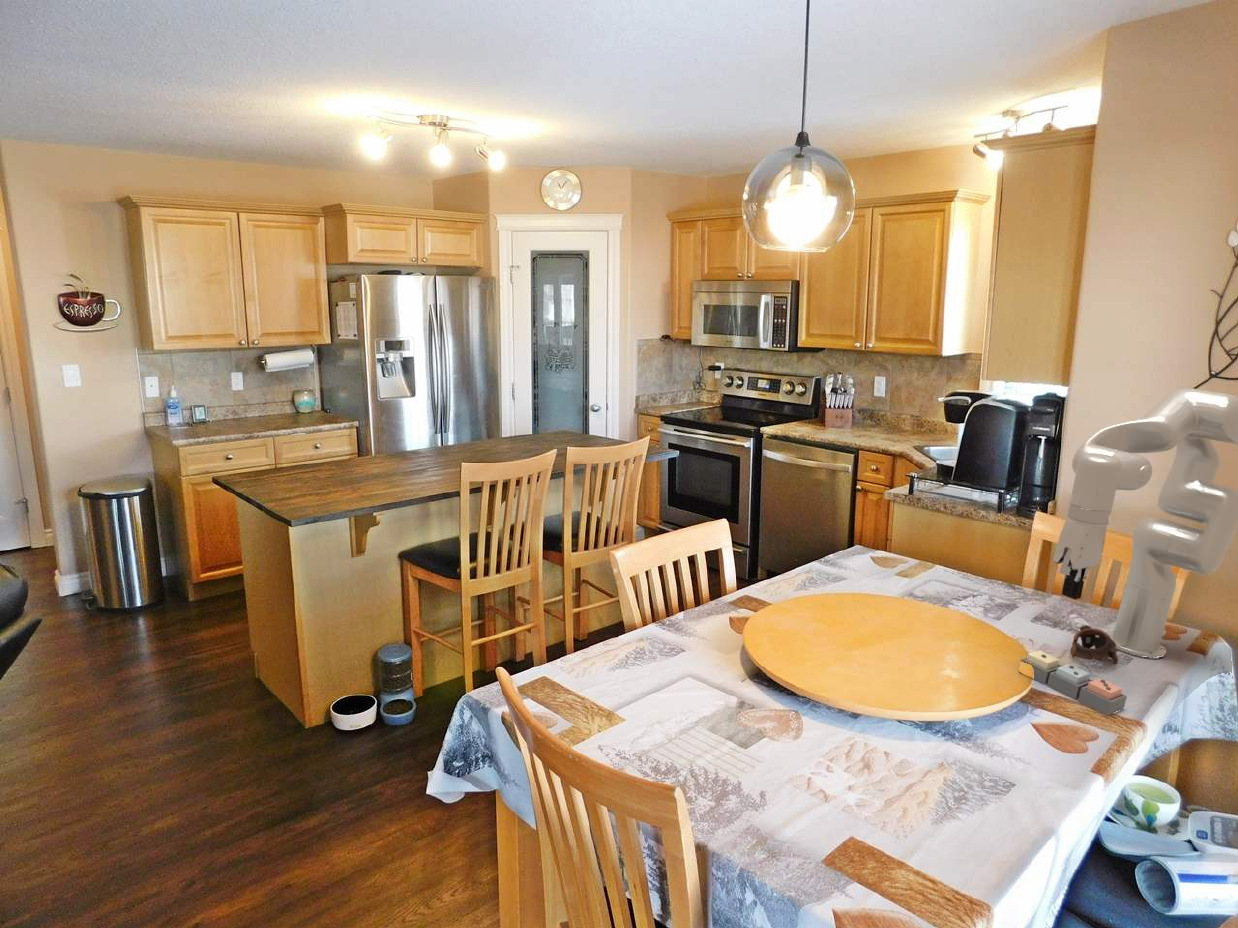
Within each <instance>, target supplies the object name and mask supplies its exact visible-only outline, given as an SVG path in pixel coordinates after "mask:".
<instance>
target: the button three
mask: <svg viewBox="0 0 1238 928" xmlns="http://www.w3.org/2000/svg"><path fill="white" fill-rule="evenodd" d="M1093 680H1094V679H1093ZM1087 690H1089V691H1091V692H1093V693H1095V694H1097V695H1099V696H1101V697H1104V698H1106V699H1108V700H1113V699H1115V698H1118V697H1120V696H1121V694H1122V693H1123V687H1120V686H1118V685H1116V684H1113V683H1111V682H1109V681H1107V680H1105V679H1103V678H1097V679H1095V680H1094V681H1091V682H1089V683H1088V687H1087Z"/></svg>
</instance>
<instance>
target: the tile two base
mask: <svg viewBox="0 0 1238 928" xmlns="http://www.w3.org/2000/svg"><path fill="white" fill-rule="evenodd" d="M1056 672H1057V671H1055V672H1052V673H1050V675H1049V680H1048V684H1046V686H1047V687H1048V688H1050V689H1052V690H1054V691H1056V692H1057V693H1058V692H1059V693H1060V694H1062V695H1064V696H1066V697H1068V698H1070V699H1072V700H1074V701H1076V700H1078V698H1079V694H1080V690H1081V688H1082V687H1085V686H1087V685H1088V683H1089V682H1091V681H1094V679H1091V678H1089V679H1088V681H1087V682H1084V683H1082V684H1079V685H1076V684H1074V683H1072V682H1070V681H1068V680H1066V679H1064V678H1062V677H1060V676H1058V675H1056Z"/></svg>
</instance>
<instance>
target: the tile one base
mask: <svg viewBox="0 0 1238 928" xmlns="http://www.w3.org/2000/svg"><path fill="white" fill-rule="evenodd" d="M1027 657H1028V656H1026V657H1023V658H1020V661H1022V662H1024V663H1027V664H1030V665H1032V667H1033V669H1034V679H1033V680H1034V681H1036V682H1038V683H1040V684H1042V685H1044V686H1045V685H1046V686H1047V684H1048V680H1049V675H1050V673H1052V672H1055V671H1057V668H1059V667H1062V666H1063V665H1061V664H1059V663H1058V667H1055V668H1052V669H1049V670H1045V669H1043V668H1041V667H1039V666H1037V665H1035V664H1032V663H1030V662H1028V661H1026V660H1027Z"/></svg>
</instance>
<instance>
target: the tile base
mask: <svg viewBox="0 0 1238 928" xmlns="http://www.w3.org/2000/svg"><path fill="white" fill-rule="evenodd" d="M1087 687H1088V685H1087V686H1085V687H1082V688H1081V690H1080V694H1079V698H1078V699H1077V702H1079V703H1080V704H1083V705H1084V706H1087V707H1089V708H1091V709H1092V710H1094V711H1096V712H1099V713H1100V714H1103V715H1105V714H1106V715H1105V716H1107V715H1109V716H1111V715H1110V714H1112V713H1114V712H1116V711H1119V710H1121V709H1123V708H1124V709H1125V705H1126V701H1127V697H1128V696H1127V695H1126V694H1124V693H1121V696H1120V697H1118V698H1115V699H1113V700H1108V699H1106V698H1104V697H1101V696H1099V695H1097V694H1095V693H1093V692H1091V691H1089V690H1087ZM1124 709H1123V710H1124ZM1121 711H1122V710H1121ZM1119 712H1120V711H1119ZM1116 713H1117V712H1116ZM1114 714H1115V713H1114ZM1112 715H1113V714H1112Z"/></svg>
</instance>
